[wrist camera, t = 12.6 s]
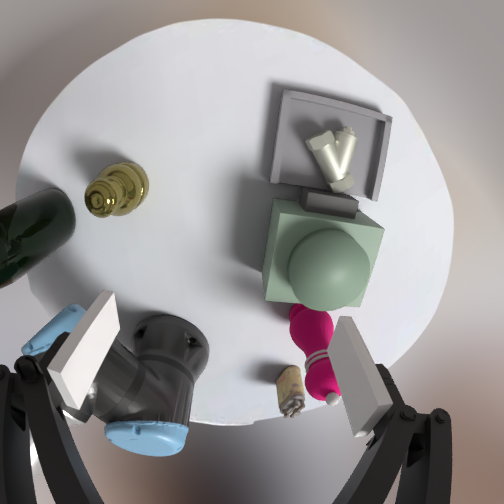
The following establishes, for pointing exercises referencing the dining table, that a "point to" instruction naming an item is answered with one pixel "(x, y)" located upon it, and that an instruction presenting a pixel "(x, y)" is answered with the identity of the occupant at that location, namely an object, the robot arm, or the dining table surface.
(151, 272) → the dining table surface
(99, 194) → the brass rounded piece
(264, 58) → the dining table surface
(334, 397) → the pepper mill
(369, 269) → the mower housing
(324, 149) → the pipe fitting
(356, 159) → the tray
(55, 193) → the dark green wine bottle
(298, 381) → the tan cylindrical piece
